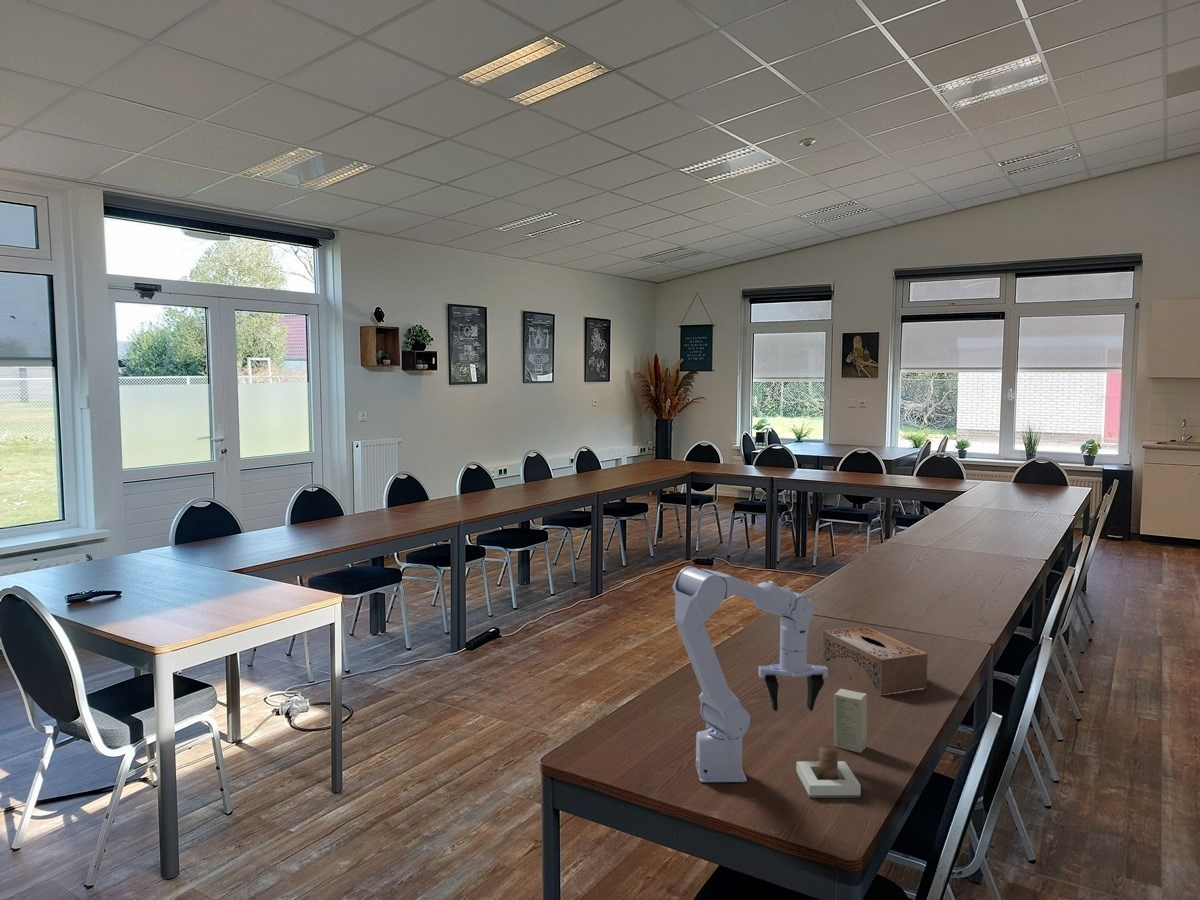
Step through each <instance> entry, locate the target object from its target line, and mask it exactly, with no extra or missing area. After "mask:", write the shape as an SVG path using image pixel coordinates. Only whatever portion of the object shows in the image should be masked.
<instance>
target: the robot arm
mask: <svg viewBox="0 0 1200 900" xmlns="http://www.w3.org/2000/svg"><path fill="white" fill-rule="evenodd" d="M671 588H672V591H673V592H674V594H675V602H674V603H675V604H674V623H675V625H676V629H677V631H678V634H679V636H680V638H681V642H682V643H683V646H684V648H685V649H684V650H685V651H686V654H687V656H688V659H689V662H690V663H691V664H690V665H691V666H692V669H693V672H694V673H695V676H696V679H697V681H698V684H699V687H700V689H701V692H700V694H699V695H698V700H699V703H700V711H699V712H700V716H701V718H702V719H703V721H705V727H706V729H705V730H700V731H697V732H696V737H695V757H696V758H695V768H696V771H697V775H698V779H699V782H700V783H746V782H747V781H748V780H747V777H746V774H745V772H744V769H743V738H744V736H745V734H746V732H747V731H748V729H749V728H750V724H751V716H750V713H749V712H748V710H747V709H746V708H744V707H743V705H742V704H741V701H740V700H739V698H738V697H737V696H736V694H735V693H734V692H732V690H731V689H730V686H729V685H728V681H727V680H726V677H725V674H724V672H723V669H722V667H721V665H720V661H719V659H718V656H717V654H716V653H717V652H716V651H715V648H714V645H713V643H712V641H711V637H710V636H709V635H710V634H709V633H708V630H707V628H706V622H707V621H708V620H709V619H710V618H711V616H712V615H713V614H714V613H715V612H716V610H717V609H718V608H719V606H720V605H721V603H722V602H723V601H724V600H728V599H729V598H730V596H731V594H732V595H734V596H738V597H741V598H745V599H748V600H751V601H752V603H753V604H754V607H756V608H757V609H758V610H761V611H765V612H768V613H771V614H774V615H778V616H779V617H780V618H779V619H780V621H779V624H780V625H779V626H780V627H779V663H777V664H776V663H775V664H769V665H758V676H759V678H760V679H763V680H764V682H765V685H766V686H767V689H768V690H767V691H768V694H769V697H770V702H771V708H772V709H773V711H774V712H778V710H779V709H778V708H779V706H778V701H779V700H778V695H779V694H778V692H779V691H778V690H779V685H780V684H779V682H778V677H779V678H783V677H785V678H787V677H789V678H790V677H791V678H803V677H804V678H805V677H806V681H807V684H806V685H807V697H806V698H807V699H806V700H807V701H806V704H807V709H808V710H809V711H811V712H812V711H814V706H815V702H816V699H817V697H818V695H819V692H820V691H821V689H822V688H823V687H824V684H825V680H824V679H825V678H828V677H829V669H828V666H826V665H818V664H817V665H816V664H815V665H814V664H808V630H809V628H810V622H811V619H812V617H813V615H814V612H815V607H814V606H813V604H812V601H811V599H810V598H809V597H808V596H807V595H805V594H800V593H799V592H795V591H794V589H793V588H790V587H786V588H783V587H781V586H778V583H777V582H776V581H772V580H768V582H766V581H763V582H760V583H758V584H757V585H755V584H753V583H752V582H751V583H750V582H748V581H745V580H744V579H740V578H737V577H735V576H733V575H730V574H727V573H725V572H724V573H723V572H720V571H716V570H712V569H707V568H700V569H699V568H697V567H695V566H691V565H688V566H685V567H684V568H682V569H681V570H680V571H679V572H678V573H677V576H676V578H675V580H674V582H673V584H672V587H671Z"/></svg>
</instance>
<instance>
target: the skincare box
mask: <svg viewBox="0 0 1200 900" xmlns="http://www.w3.org/2000/svg"><path fill="white" fill-rule="evenodd" d="M833 711H834V712H833V715H834V716H833V718H834V719H833V724H834V725H833V730H834V731H833V732H834V733H833V737H834V738H833V739H834V740H833V741H834V745H833V747H835V748H839V749H843V750H848V751H851V752H855V753H859V754H861V753H862V752H863V751H864V750H865V749H866V748H867V746H868V694H867V693H865V692H860V691H855V690H851V689H844V688H839V689H837V691H836V692H835V693H834V694H833Z"/></svg>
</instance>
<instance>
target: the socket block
mask: <svg viewBox="0 0 1200 900" xmlns="http://www.w3.org/2000/svg"><path fill="white" fill-rule="evenodd" d="M795 766H796V770H795V771H796V772H795V773H796V776H797V777H798V779H799V780H800V783H801V785H802V787H803V789H804V791H805V793H806V795H807V796H808V799H839V798H840V799H841V798H842V799H845V798H847V799H848V798H849V799H850V798H854V799H857V798H859V799H860V798H861V789H862V787H861V786H862V785H861V784H860V782H859V780H858V779H857V778H856V776H855V774H854V773H853V771H852V770H851V768H850V767H849V766H848V764H847V763H846V761H845V760H843V761H841V760H838V771H837V780H819V760H818V761H814V760H812V761H810V760H809V761H807V760H806V761H803V760H802V761H799V760H798V761H796V765H795Z"/></svg>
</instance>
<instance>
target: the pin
mask: <svg viewBox="0 0 1200 900" xmlns="http://www.w3.org/2000/svg"><path fill="white" fill-rule="evenodd" d="M818 751H819V752H818V761H819V780H837V771H838V761H839V757H838V756H839V754H838V753H839V750H838V749H837V747H835V746H831V745H822V746H820V747H819V749H818Z"/></svg>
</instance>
